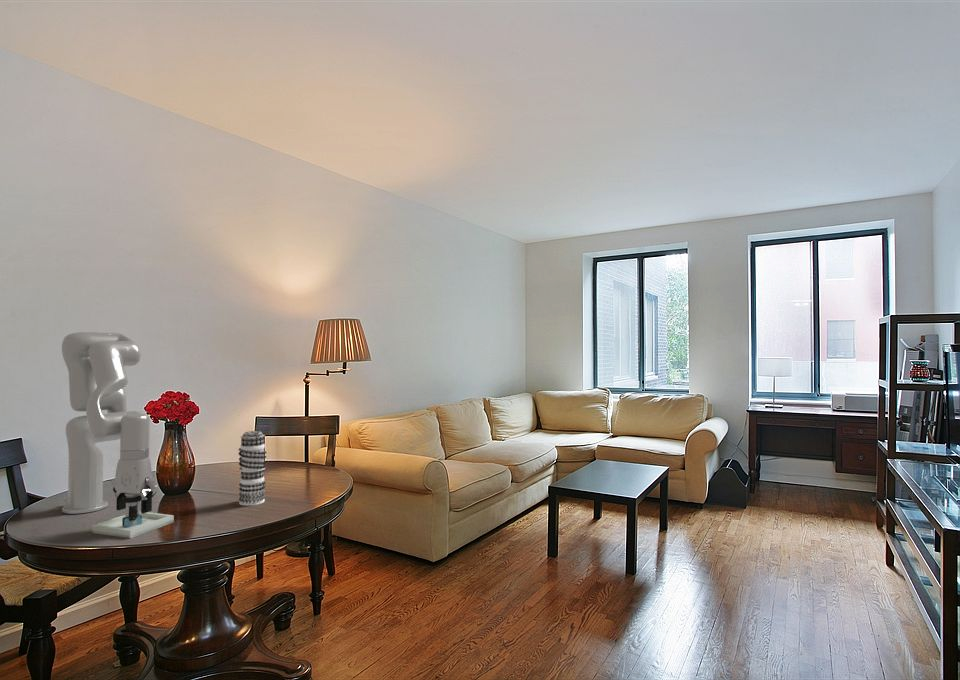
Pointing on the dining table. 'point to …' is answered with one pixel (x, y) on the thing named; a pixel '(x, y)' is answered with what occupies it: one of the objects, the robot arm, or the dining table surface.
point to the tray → (116, 528)
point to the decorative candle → (252, 468)
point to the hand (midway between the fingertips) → (134, 510)
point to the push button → (132, 510)
